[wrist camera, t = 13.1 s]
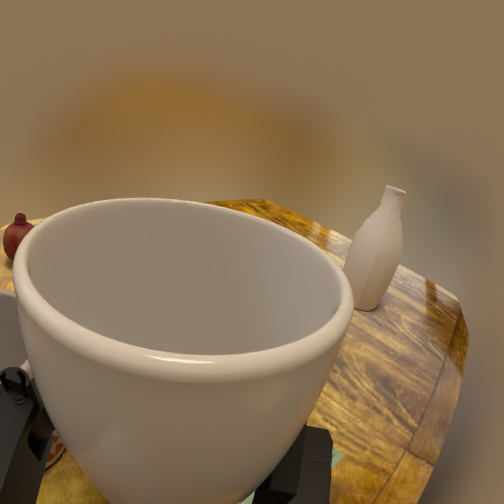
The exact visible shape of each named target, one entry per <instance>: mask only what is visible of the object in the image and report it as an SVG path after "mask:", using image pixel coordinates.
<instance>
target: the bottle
mask: <svg viewBox="0 0 504 504" xmlns="http://www.w3.org/2000/svg"><path fill="white" fill-rule="evenodd" d="M405 195H406V192H405V191H403V190H400V189H398V188H395V187H392V186H389V185H386V186H385V192H384V195H383V198H382V201H381V203H380V206H379V208H378V209H377V210H376V211H375V212H374V213H373V214H372V215H371V216H370V217H369V218H368V219H367V220H365V221H364V223H363V224H362V226H361V227H360V229H359V230H358V232H357V233H356V235H355V237H354V239H353V241H352V243H351V245H350V248H349V252H348V255H347V258H346V262H345V265H344V269H343V271H344V273H345V275H346V276H347V278H348V280H349V282H350V284H351V287H352V291H353V295H354V308H355V309H358V310H363V311H370V310H372V309H374V308H376V306H377V305H378V303H379V302H380V300H381V298H382V297H383V295H384V293H385V292H386V290H387V288H388V286H389V284H390V282H391V280H392V278H393V276H394V274H395V271H396V269H397V267H398V265H399V261H400V257H401V252H402V243H403V232H402V226H401V220H400V213H401V209H402V205H403V201H404V197H405Z"/></svg>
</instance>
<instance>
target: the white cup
mask: <svg viewBox="0 0 504 504" xmlns="http://www.w3.org/2000/svg"><path fill="white" fill-rule="evenodd" d="M13 283H14V289H15V295H16V302H17V309H18V316H19V321H20V327H21V332H22V337H23V342H24V346H25V350H26V354H27V358H28V362H29V365H30V368H31V372H32V375H33V378H34V381H35V384H36V387H37V389H38V392H39V395H40V397H41V400H42V402H43V405H44V407H45V409H46V411H47V414H48V416H49V418H50V420H51V422H52V424H53V426H54V428H55V430H56V432H57V434H58V436H59V438H60V439H61V441H62V443H63V444H64V446H65V448H66V449H67V451H68V452H69V454H70V455H71V457H72V458H73V460H74V461H75V462H76V464H77V465H78V467H79V468H80V469H81V471H82V472H83V473H84V475H85V476H86V477H87V478H88V480H89V481H90V482H91V483H92V485H93V486H94V487H95V488H96V489H97V491H98V492H99V493H100V494H101V495H102V496H103V498H104V499H105V500H106V501H107V502H108V503H109V504H242V503H243V502H244V501H245V500H246V499H247V498H248V497H249V496H250V495H251V494H252V493H253V492H254V491H255V490H256V489H257V488H258V487H259V486H260V485H261V484H262V483H263V482H264V481H265V480H266V479H267V477H268V476H269V475H270V474H271V473H272V472H273V471H274V469H275V468H276V467H277V466H278V464H279V463H280V462H281V460H282V459H283V458H284V456H285V455H286V453H287V452H288V450H289V449H290V448H291V446H292V445H293V443H294V442H295V440H296V439H297V437H298V435H299V434H300V432H301V431H302V429H303V427H304V425H305V424H306V422H307V420H308V418H309V416H310V415H311V413H312V411H313V409H314V407H315V405H316V403H317V401H318V399H319V397H320V395H321V393H322V391H323V388H324V386H325V384H326V382H327V379H328V377H329V375H330V372H331V370H332V367H333V365H334V363H335V360H336V357H337V355H338V352H339V350H340V347H341V344H342V342H343V339H344V337H345V334H346V332H347V329H348V327H349V325H350V322H351V319H352V316H353V310H354V295H353V291H352V287H351V284H350V282H349V280H348V278H347V276H346V275H345V273H344V271H343V270H342V269H341V267H340V266H339V265H338V264H337V263H336V262H335V261H334V260H333V259H332V258H331V257H330V256H329V255H328V254H327V253H326V252H325V251H323V250H322V249H321V248H319V247H318V246H317V245H315V244H314V243H312V242H311V241H309V240H307V239H306V238H304V237H302V236H300V235H299V234H297V233H295V232H293V231H291V230H289V229H287V228H285V227H282V226H280V225H278V224H275V223H273V222H270V221H268V220H265V219H262V218H259V217H256V216H253V215H250V214H247V213H244V212H240V211H236V210H233V209H229V208H224V207H220V206H215V205H210V204H205V203H199V202H192V201H185V200H175V199H164V198H121V199H111V200H102V201H96V202H91V203H86V204H82V205H78V206H74V207H71V208H68V209H65V210H63V211H60V212H58V213H56V214H54V215H51V216H50V217H48V218H46V219H44V220H43V221H41V222H40V223H39V224H37V225H36V226H35V227H34V228H32V229H31V230H30V231H29V232H28V233H27V235H26V236H25V237H24V238H23V240H22V241H21V243H20V245H19V246H18V248H17V251H16V254H15V257H14V262H13Z"/></svg>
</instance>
